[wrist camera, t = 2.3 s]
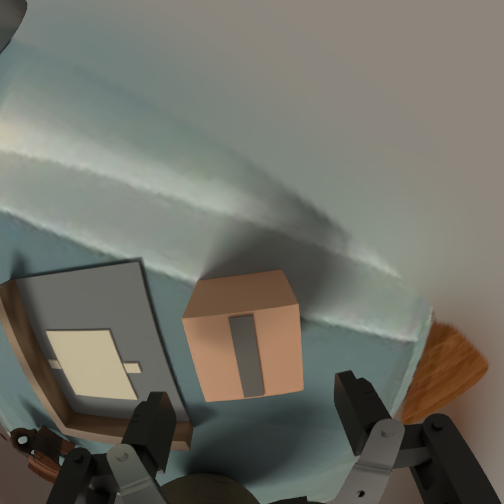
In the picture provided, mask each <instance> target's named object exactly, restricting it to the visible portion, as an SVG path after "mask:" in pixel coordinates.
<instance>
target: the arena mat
mask: <svg viewBox="0 0 504 504" xmlns="http://www.w3.org/2000/svg"><path fill="white" fill-rule="evenodd" d="M16 283H17V287H18V290H19V293H20V296H21V299H22V302H23V305H24V308H25V311H26V314H27V316H28V319H29V322H30V324H31V327H32V329H33V332H34V334H35V337H36V339H37V341H38V344H39V346H40V348H41V351H42V353H43V355H44V357H45V359H46V361H47V363H48V365H49V367H50V369H51V371H52V373H53V375H54V377H55V379H56V381H57V383H58V385H59V386H60V388H61V390H62V392H63V394H64V395H65V397H66V399H67V400H68V402H69V404H70V405H71V407H72V409H73V410H74V412H76V413H82V414H88V415H95V416H103V417H111V418H121V419H131V417H132V416H133V412H134V410H135V408H136V407H137V406H138V405H139V404H140V403H141V402H142V401H147V399H148V396H149V394H150V392H151V391H165V392H167V394H168V396H169V398H170V401H171V403H172V406H173V408H174V410H175V413H176V419H177V421H189V417H188V415H187V412H186V410H185V407H184V405H183V402H182V400H181V397H180V394H179V392H178V389H177V386H176V384H175V381H174V378H173V375H172V373H171V370H170V367H169V364H168V361H167V358H166V355H165V352H164V349H163V346H162V342H161V339H160V336H159V333H158V329H157V326H156V323H155V319H154V316H153V312H152V308H151V305H150V301H149V297H148V293H147V289H146V285H145V281H144V277H143V273H142V269H141V264H140V261H135V262H128V263H121V264H114V265H107V266H100V267H93V268H86V269H79V270H73V271H66V272H59V273H52V274H45V275H39V276H32V277H25V278H19V279H16Z"/></svg>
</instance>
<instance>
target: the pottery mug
mask: <svg viewBox="0 0 504 504" xmlns="http://www.w3.org/2000/svg"><path fill="white" fill-rule="evenodd" d="M10 434H11V438H10V442H11V444H12V446H13V447H14V449H15V450H16V451H18V452H19V453H21V454H23V455H25V456H26V457H27V458H28V460H29V465H28V467H29V469H30V470H31V471H32V472H34V473H35V474H36V475H38V476H39V477H41V478H43V479H44V480H46V481H48V482H50V483H53V484H54V483H55V481H56V478H57V476H58V474H59V471H60V469H61V467H62V466H61V465H60V464H59V455H60V453H61V454H65V455H67V454H68V452H69V451H71V450H72V449H74V448H75V445H74V444H73V443H71V442H69V441H67V440H65V439H63V438H61V437H60V436H58V435H56V434H55V433H54V432H52V431H51V430H49V429H47V428H46V427H44V426H42V427H41V429H40V430H39V431H38V432H37V430H36V429H32V430H28V429H26V428H17V429H14V430H13V431H11V432H10ZM23 436H26V437H27V442H26V443H24V444H20V443H19V442H18V439H19V438H20V437H23ZM32 450H34V455H33V454H31V451H32Z"/></svg>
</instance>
